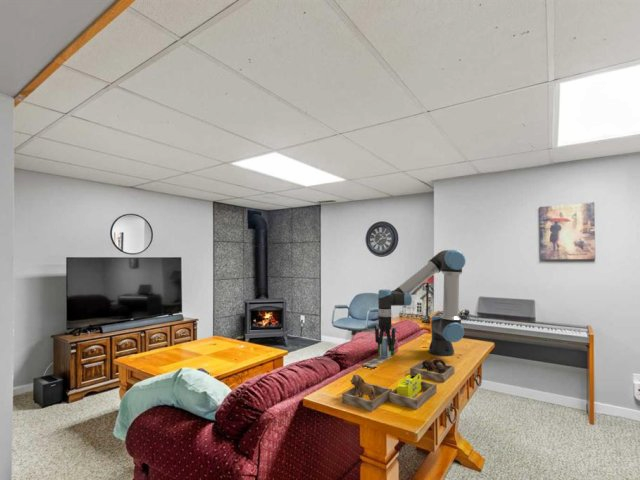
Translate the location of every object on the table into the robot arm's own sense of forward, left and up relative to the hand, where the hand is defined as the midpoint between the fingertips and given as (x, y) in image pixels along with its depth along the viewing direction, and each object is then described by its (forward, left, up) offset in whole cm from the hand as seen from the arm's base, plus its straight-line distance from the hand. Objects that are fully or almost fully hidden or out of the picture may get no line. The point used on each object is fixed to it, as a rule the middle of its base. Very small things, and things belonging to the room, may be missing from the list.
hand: (385, 355), depth 201 cm
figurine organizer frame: (-21, +57, -2) cm, 61 cm away
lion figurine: (-20, +58, -2) cm, 61 cm away
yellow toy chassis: (-33, +42, -3) cm, 54 cm away
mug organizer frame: (-31, +8, -2) cm, 32 cm away
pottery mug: (-31, +6, -2) cm, 32 cm away
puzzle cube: (+3, -10, -2) cm, 11 cm away
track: (0, +9, -2) cm, 9 cm away
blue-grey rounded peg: (0, 0, -1) cm, 1 cm away
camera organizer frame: (-35, +42, -2) cm, 55 cm away
